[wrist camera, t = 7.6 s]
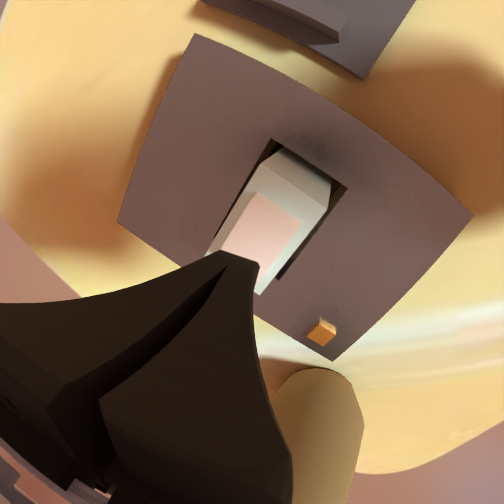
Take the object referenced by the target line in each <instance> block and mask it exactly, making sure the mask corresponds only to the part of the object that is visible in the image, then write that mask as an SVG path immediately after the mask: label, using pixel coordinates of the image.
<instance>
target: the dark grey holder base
mask: <svg viewBox="0 0 504 504" xmlns="http://www.w3.org/2000/svg"><path fill="white" fill-rule="evenodd" d="M200 1H202V2H204V3H205V4H208V5H211V6H214V7H217V8H219V9H222V10H225V11H228V12H230V13H233V14H235V15H238V16H241V17H243V18H245V19H248V20H250V21H253V22H255V23H257V24H260V25H262V26H264V27H266V28H269V29H271V30H273V31H275V32H277V33H279V34H281V35H284V36H286V37H288V38H290V39H292V40H294V41H296V42H298V43H300V44H302V45H303V46H305V47H307V48H309V49H311V50H313V51H315V52H316V53H318V54H320V55H322V56H324V57H325V58H327V59H329V60H331V61H332V62H334V63H336V64H337V65H339V66H341V67H342V68H344V69H346V70H347V71H349V72H350V73H352V74H354V75H355V76H357V77H358V78H360V79H361V80H364V79H365V77H366V76H367V74H368V72H369V71H370V69H371V68H372V66H373V65H374V63H375V62H376V60H377V59H378V57H379V56H380V54H381V53H382V51H383V50H384V48H385V47H386V45H387V44H388V42H389V41H390V39H391V38H392V36H393V34H394V33H395V31H396V30H397V28H398V27H399V25H400V24H401V22H402V21H403V19H404V18H405V16H406V15H407V13H408V12H409V10H410V9H411V7H412V6H413V4H414V3H415V1H416V0H200Z"/></svg>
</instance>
